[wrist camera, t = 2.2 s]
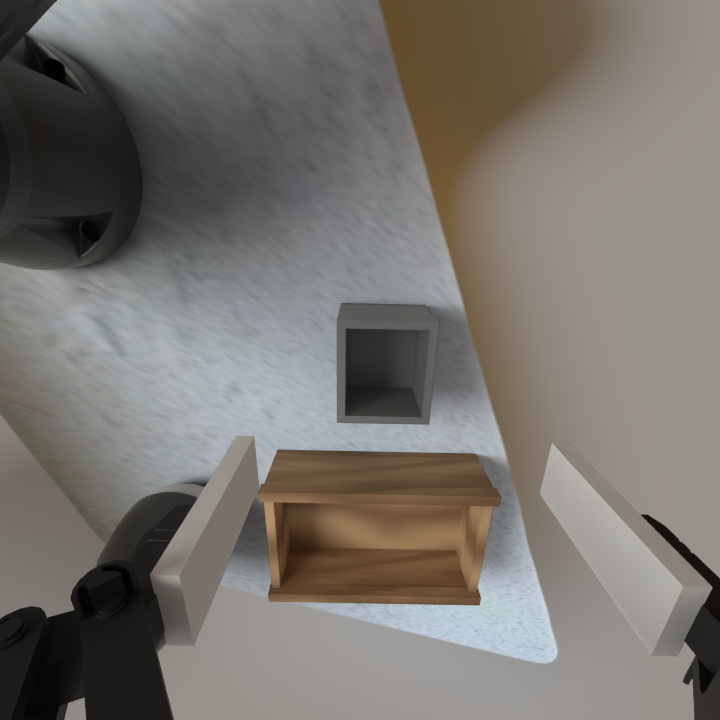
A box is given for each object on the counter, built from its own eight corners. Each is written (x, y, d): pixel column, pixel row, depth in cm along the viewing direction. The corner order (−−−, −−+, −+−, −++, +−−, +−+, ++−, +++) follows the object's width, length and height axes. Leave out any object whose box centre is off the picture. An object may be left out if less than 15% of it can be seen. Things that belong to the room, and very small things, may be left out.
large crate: (275, 449, 34) (258, 492, 28) (477, 453, 34) (500, 496, 29) (282, 546, 39) (268, 601, 33) (462, 550, 39) (479, 605, 33)
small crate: (341, 303, 29) (336, 319, 24) (424, 305, 29) (439, 321, 24) (341, 389, 32) (336, 422, 26) (417, 390, 32) (429, 424, 26)
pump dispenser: (150, 455, 35) (1, 610, 20) (253, 481, 36) (180, 647, 21) (140, 530, 38) (6, 709, 24) (234, 552, 39) (160, 737, 25)
